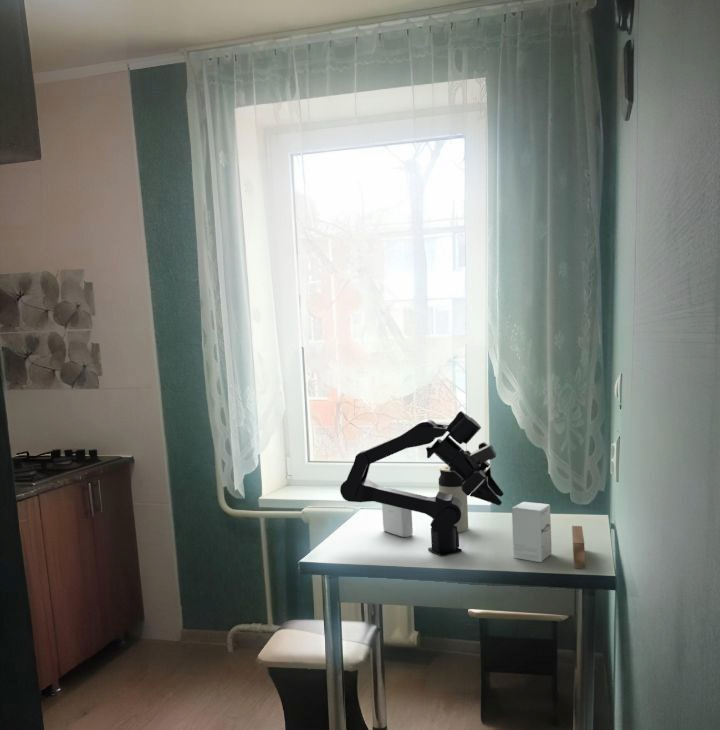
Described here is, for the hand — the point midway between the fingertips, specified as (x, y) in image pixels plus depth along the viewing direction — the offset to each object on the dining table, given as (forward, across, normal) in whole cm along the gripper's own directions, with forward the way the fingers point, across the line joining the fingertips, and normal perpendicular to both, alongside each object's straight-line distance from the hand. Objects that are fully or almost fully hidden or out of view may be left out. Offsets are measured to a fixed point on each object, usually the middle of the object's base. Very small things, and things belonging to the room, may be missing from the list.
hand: (501, 499), depth 156 cm
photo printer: (-12, +14, +31) cm, 36 cm away
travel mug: (-1, +20, +20) cm, 28 cm away
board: (+22, -1, -2) cm, 23 cm away
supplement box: (+15, -1, +5) cm, 16 cm away
